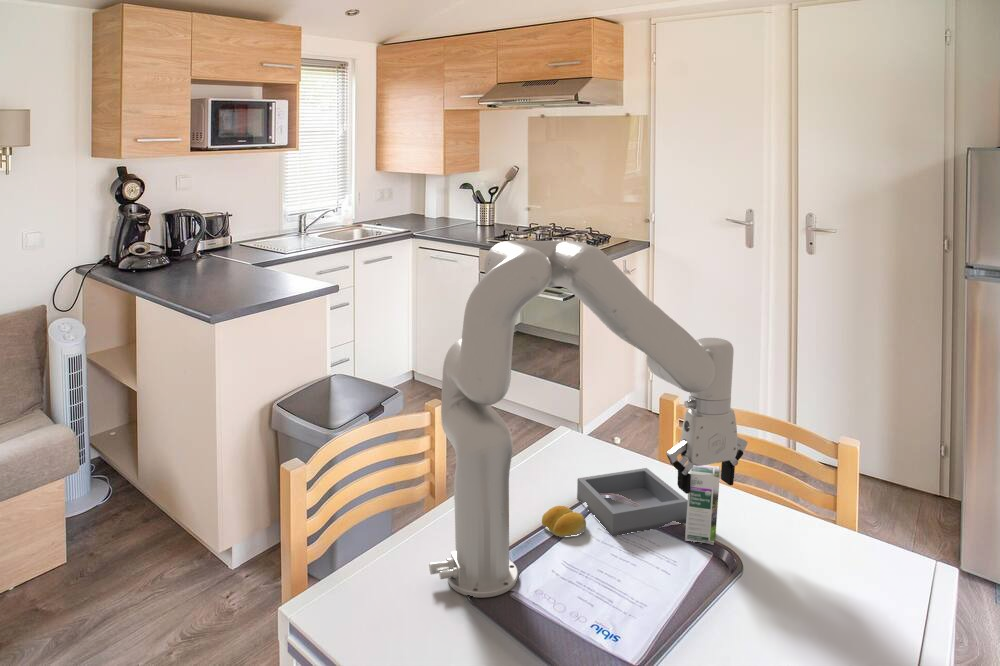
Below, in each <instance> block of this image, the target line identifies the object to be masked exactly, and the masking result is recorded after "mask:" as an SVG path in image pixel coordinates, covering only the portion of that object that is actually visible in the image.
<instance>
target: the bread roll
mask: <svg viewBox="0 0 1000 666" xmlns="http://www.w3.org/2000/svg"><path fill="white" fill-rule="evenodd" d="M586 521H587V520H586V519H585V517H584V515H583V514H582V513H580V512H574V511H573V509H571V508H569V507H568V506H565V505H556V506H553V507H551V508H549V509H548V510H547V511H546V512H544V513H543V515H542V517H541V524H542V527H544V526H547V527H548V528H549V530H550V532H549V533H551V534H553V535H554V536H556V537H558V536H559V537H558V538H563V537H564V536H571V535H577V534H580V533H582V532H583V531H584V532H585V530H586V528H587V522H586ZM584 532H583V533H584ZM583 533H582V534H583Z"/></svg>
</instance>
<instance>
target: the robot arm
mask: <svg viewBox="0 0 1000 666" xmlns="http://www.w3.org/2000/svg"><path fill="white" fill-rule="evenodd" d="M483 271H484V274H485V275H484V276H483V277H482V278H481V280H479V282H478V283H477V284H476V285H475V287H474V288H473V290H472V291H471V293H470V295H469V297H468V299H467V302H466V305H465V310H464V315H463V322H462V331H461V338H460V339H458V340H457V341H455V342H454V343H453V344H452V345H451V346H450V347H449V349H448V351H447V353H446V354H445V356H444V357H445V358H444V361H443V366H442V377H441V378H442V379H441V380H442V381H441V402H440V403H441V406H440V420H441V427H442V430H443V432H444V434H445V436H446V438H447V439H448V441H449V443H450V444H451V446H452V448H453V449H454V451H455V456H456V457H455V459H456V463H455V471H454V476H453V477H454V483H453V484H454V485H453V496H454V497H453V498H454V499H453V500H454V537H455V538H454V539H455V543H454V544H455V550H453V551H451V552H450V553H451V554H450V555H451V556H450V557H449V558H446V560H444V561H436V562H430V563H429V564H428V566H429V573H430V575H436V574H439V578H440V580H445V579H447V583H448V585H449V586H450V587H451V588H452V589H453V590H454V591H456V592H457V593H458V594H461V595H464V596H467V595H470V596H473V597H472V598H485V599H486V598H492V597H497V596H500V595H503V594H505V593H507V592H508V591H510V590H511V589H513V588H514V587H515V585H516V584H517V582H518V580H517V579H518V578H519V570H518V568H517V566H516V564H515V563H514V562H513V561H511V560H510V470H511V462H512V457H513V451H514V448H513V447H514V446H513V445H514V442H513V436H512V433H511V430H510V428H509V426H508V424H507V423H506V421H505V420H504V419H503V418H502V417H501V416H500V414H499V413H498V412H497V411H496V410H495V409H493V407H492V406H493V405H495V404H497V403H499V402H500V401H502V400H503V399H504V397H506V395H507V394H508V391H509V389H510V384H511V379H512V359H513V343H514V342H513V341H514V334H515V326H516V322H517V319H518V316H519V314H520V313H521V312H522V310H523V309H524V308H525V306H527V305H528V303H530V302H531V301H532V300H533V299H535V298H537V297H538V296H540V295H541V294H542V293H544V291H546V290H547V288H551V287H552V288H553V287H562V288H564V289H567V290H569V291H570V292H571V294H573V295H574V296H576V298H577V299H579V301H580V302H581V303H582V304H583V305H585V306H586V308H588V309H589V310H590V311H591V312H592V313H593V314H594V315H595V316H596V317H597V318H598V319H599V320H600V321H601V322H602V324H604V325H605V326H606V328H608V329H609V331H611V332H612V333H613V334H615V335H616V336H617V337H618V338H619V339H621V340H623V341H625V342H626V343H627V344H629V345H631V346H633V347H635V348H636V349H637V350H639V351H640V352H642V353H644V354H645V355H646V364H647V367H648V369H649V370H650V372H651V373H653V375H654V376H656V377H658V378H659V379H661V380H664V381H665V382H666V383H669V384H671V385H673V386H675V387H677V388H678V389H680V390H681V391H684V392H686V393H689V396H688V400H685V401H684V402H683V406H684V407H685V408H686V410H685V415H684V418H683V423H682V428H681V434H680V442H679V443H677V444H676V445H674V446H673V447H672V448H671V449H669V450H668V451H667V452H666V456H667V459H668V460H669V462H670V463H669V464H670V465H671V466H672V467H674V468H675V469H676V470H677V486H678V489H680V490H681V491H682V492H683V493H684V494H687V495H688V493H690V484H691V475H690V474H689V471H690V470H691V468H692V467H693V466H694V465H695V466H702V465H714V464H718V463H721V470H720V473H721V474H720V480H722V481H723V482H724V483H726V484H727V485H729V486H733V485H734V481H735V480H734V479H735V473H736V472H735V469H736V466H738V464H739V460H740V459H741V458H742V457H743V456H744V451H745V449H746V448H747V446H748V440H746V439H744V438H742V437H739V436H738V430H737V429H738V428H737V419H736V415H735V410H734V409H732V407H731V402H732V385H733V372H734V371H733V369H734V367H733V366H734V352H735V351H734V346H733V344H732V343H731V341H729V340H727V339H725V338H724V339H723V338H719V337H702V338H698V339H695V338H694V336H692V335H691V334H690V333H689V332H688V331H687V330H685V328H683V327H682V326H681V325H680V324H679V323H678V322H677V321H676V320H674V319H673V318H671V317H670V316H669V315H668V314H667V313H665V312H664V310H662V309H661V308H660V307H659V306H658V305H656V303H654V302H653V301H652V300H651V299H650V298H648V297H647V296H646V295H645V294H644V293H643V292H642V290H640V289H639V288H638V287H637V286H636V284H634V282H633V281H632V280H631V279H630V278H629V277H628V276H627V275H626V274H625V273H624V272H623V271H622V270H621V269H620V267H619V266H618V265H617V264H616V263H615V262H614V261H613V259H611V258H610V257H609V256H608V255H607V254H606V253H605V252H604V251H602V249H600V248H598V247H597V246H594V245H592V244H589V243H584V242H580V241H576V240H507V241H502V242H498V243H496V244H495V245H494V246H492V247H490V249H489V251H488V252H487V253H486V255H485V257H484V261H483ZM679 455H680V456H681V457H680V459H678V456H679ZM516 581H517V582H516ZM515 583H516V584H515ZM470 596H469V597H470ZM467 597H468V596H467Z"/></svg>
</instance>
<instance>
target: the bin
mask: <svg viewBox="0 0 1000 666" xmlns="http://www.w3.org/2000/svg"><path fill="white" fill-rule="evenodd" d="M576 489H577V492H576V500H577V502H579V503H580V501H585V502H586V503H587V505H588V510H589V511H588V510H587V511H588V512H589V514H590V513H592V514H593V515H595V517H596V518H597V519H598V520H599V521H600V523H601V524H602V525H603V526H604V527H605V528H606V530H607V531H608V532H609V533H610V534H611V535H612V536H614V537H618V536H617V535H620V536H623V535H622V534H625V535H628V534H627V533H631V532H636V533H638V532H637V531H642V532H645V531H644V530H647V531H651V530H650V529H653V530H658V529H660V528H659V527H662V526H664V525H665V524H668V523H670V522H672V521H676V522H679V523H681V524H680V525H684V524H685V525H686V518H687V503H688V499H687V498H685V496H683V495H682V494H680V493H679V492H678V491H677V490H675V489H674V488H673V487H672V486H670V485H669V484H667V483H666V482H665V481H664V480H662V479H661V478H660V477H659V476H657V475H656V474H655V473H654V472H653V471H651V470H650V469H649V468H647V467H642V468H637V469H630V470H624V471H617V472H610V473H604V474H597V475H592V476H585V477H577V488H576ZM599 493H614V494H619V495H622V496H624V497H626V498H628V499H631V500H632V501H634V502H636V503H638V504H641V505H642V506H638V507H633V506H630V505H627V504H623V503H621V502H617V501H615V500H612V499H611V498H603V497H602V496H601V495H600V494H599ZM600 523H599V524H600ZM601 524H600V525H601ZM602 525H601V526H602ZM603 526H602V527H603ZM604 527H603V528H604ZM605 528H604V529H605ZM657 528H658V529H657ZM606 530H605V531H606ZM607 531H606V532H607ZM608 532H607V533H608ZM609 533H608V534H609ZM610 534H609V535H610ZM631 534H632V533H631ZM611 535H610V536H611ZM612 536H611V537H612Z"/></svg>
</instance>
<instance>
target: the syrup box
mask: <svg viewBox="0 0 1000 666" xmlns="http://www.w3.org/2000/svg"><path fill="white" fill-rule="evenodd" d="M720 472H721V470H720V465H710V464H708V465H702V466H695V465H694V466H693V467H692V468H691V470H690V471H689V472H688V473H689V474H690V475H691V484H690V493H688V494H687V500H688V503H687V518H686V524H685V534H684V535H685V536H684V541H685V542H686V541H691V542H690V543H695V542H697V541H698V542H707V541H715V542H716V538H717V537H716V534H717V523H718V521H717V519H718V507H719V506H718V504H719V494H720V493H719V491H720ZM692 541H693V542H692Z"/></svg>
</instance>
